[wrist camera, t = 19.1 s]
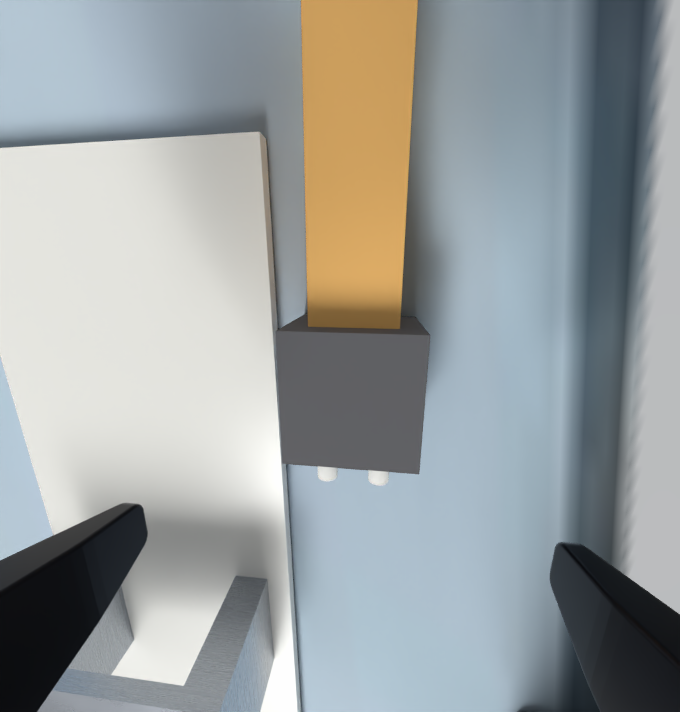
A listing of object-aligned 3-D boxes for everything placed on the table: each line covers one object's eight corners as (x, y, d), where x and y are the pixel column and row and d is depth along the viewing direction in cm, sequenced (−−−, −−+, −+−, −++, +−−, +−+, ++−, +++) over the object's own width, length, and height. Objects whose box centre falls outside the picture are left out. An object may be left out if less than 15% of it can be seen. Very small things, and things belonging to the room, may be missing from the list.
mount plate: (266, 139, 10) (259, 131, 10) (308, 826, 20) (306, 843, 19) (-39, 157, 12) (-61, 151, 11) (140, 793, 21) (133, 808, 21)
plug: (436, -4, 9) (470, -164, 6) (406, 454, 13) (415, 518, 9) (297, 9, 9) (253, -133, 6) (307, 447, 13) (284, 506, 10)
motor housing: (267, 578, 14) (217, 716, 10) (274, 658, 16) (232, 812, 11) (50, 556, 16) (-80, 669, 11) (73, 631, 17) (-36, 760, 12)
